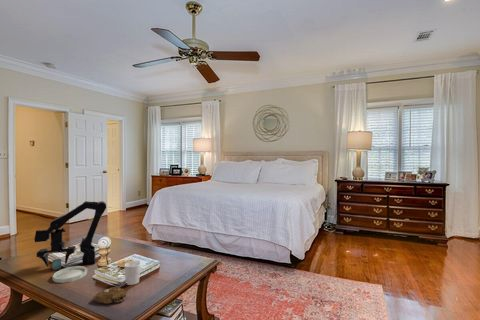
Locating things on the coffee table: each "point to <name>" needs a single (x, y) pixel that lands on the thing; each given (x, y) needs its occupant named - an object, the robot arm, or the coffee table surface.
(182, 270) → the coffee table surface
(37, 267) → the coffee table surface
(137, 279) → the white cup
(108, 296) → the decorative rock
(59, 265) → the bead
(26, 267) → the coffee table surface
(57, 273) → the ceramic dish
